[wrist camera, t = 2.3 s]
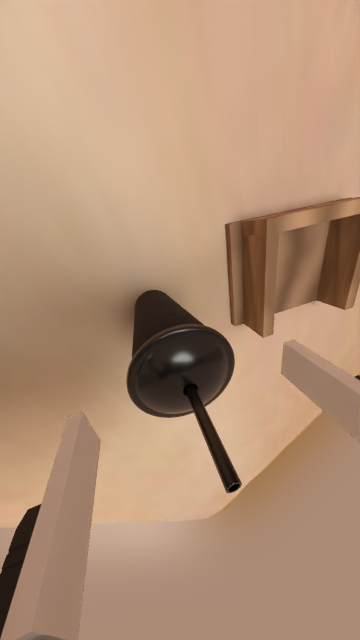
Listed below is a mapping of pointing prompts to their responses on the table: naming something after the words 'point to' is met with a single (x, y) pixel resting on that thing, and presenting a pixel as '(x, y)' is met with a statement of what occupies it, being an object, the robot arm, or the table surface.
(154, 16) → the table surface
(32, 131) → the table surface
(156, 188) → the table surface
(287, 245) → the u rest
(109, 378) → the table surface
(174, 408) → the drinking cup
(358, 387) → the robot arm
